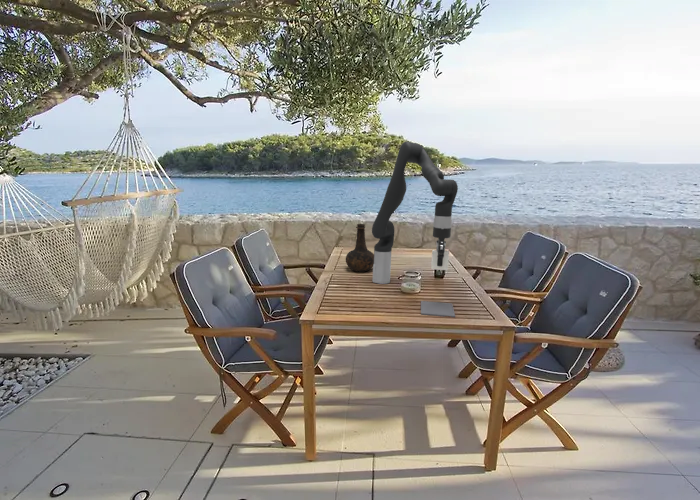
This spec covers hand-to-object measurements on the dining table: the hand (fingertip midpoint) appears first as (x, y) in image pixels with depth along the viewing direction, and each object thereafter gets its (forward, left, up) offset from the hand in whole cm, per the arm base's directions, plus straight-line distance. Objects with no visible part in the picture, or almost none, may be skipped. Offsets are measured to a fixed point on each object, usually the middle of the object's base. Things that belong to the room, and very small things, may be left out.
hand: (439, 264), depth 171 cm
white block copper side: (0, 0, -2) cm, 2 cm away
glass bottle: (-43, +54, -19) cm, 72 cm away
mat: (0, -5, -19) cm, 20 cm away
